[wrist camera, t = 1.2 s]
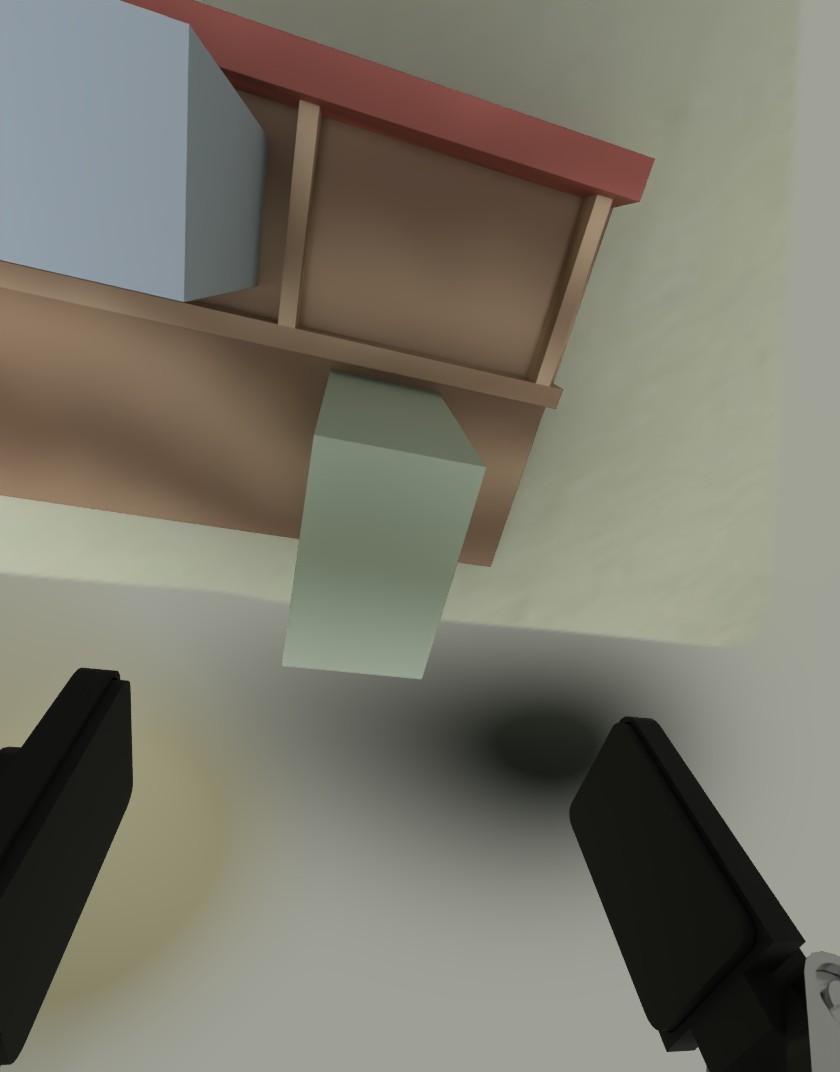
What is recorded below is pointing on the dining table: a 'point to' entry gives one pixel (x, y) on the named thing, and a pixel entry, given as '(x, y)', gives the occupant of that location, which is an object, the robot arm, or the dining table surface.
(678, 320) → the dining table surface
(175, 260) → the blue carton
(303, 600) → the sage carton
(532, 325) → the shelf
